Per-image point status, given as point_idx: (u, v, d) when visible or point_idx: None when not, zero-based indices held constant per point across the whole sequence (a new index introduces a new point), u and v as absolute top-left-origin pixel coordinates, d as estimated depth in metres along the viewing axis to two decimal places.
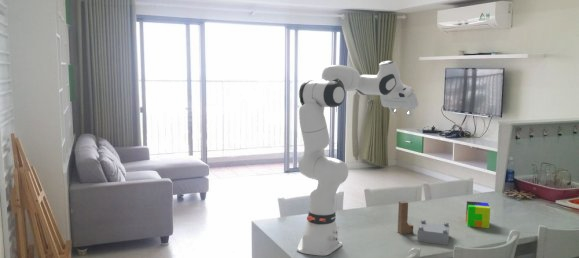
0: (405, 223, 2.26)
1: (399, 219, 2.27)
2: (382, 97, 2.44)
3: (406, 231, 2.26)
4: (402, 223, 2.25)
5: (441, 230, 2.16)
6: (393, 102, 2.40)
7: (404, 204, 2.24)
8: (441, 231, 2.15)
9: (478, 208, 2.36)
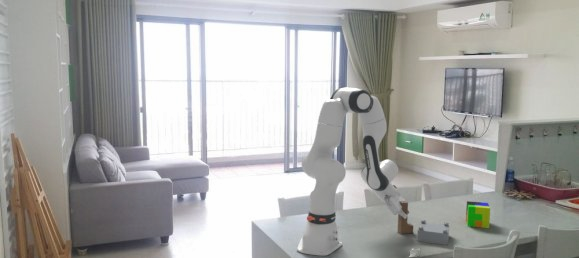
0: (405, 223, 2.26)
1: (399, 219, 2.27)
2: (392, 200, 2.21)
3: (406, 231, 2.26)
4: (402, 223, 2.25)
5: (441, 230, 2.16)
6: (397, 201, 2.26)
7: (404, 204, 2.24)
8: (441, 231, 2.15)
9: (478, 208, 2.36)
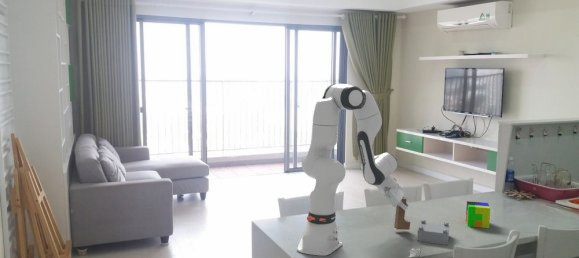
0: (402, 219, 2.27)
1: (396, 214, 2.28)
2: (392, 191, 2.20)
3: (402, 227, 2.27)
4: (399, 219, 2.26)
5: (441, 230, 2.16)
6: (397, 193, 2.25)
7: (402, 200, 2.25)
8: (441, 231, 2.15)
9: (478, 208, 2.36)
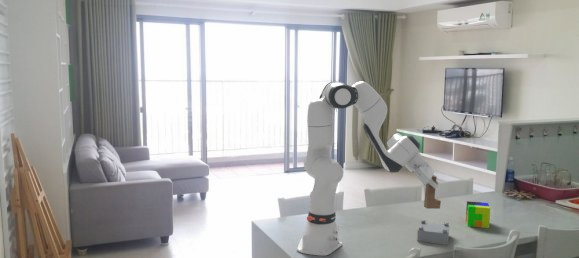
0: (432, 198, 2.18)
1: (426, 193, 2.19)
2: (422, 169, 2.12)
3: (433, 206, 2.19)
4: (429, 197, 2.18)
5: (441, 230, 2.16)
6: (427, 171, 2.17)
7: (432, 178, 2.17)
8: (441, 231, 2.15)
9: (478, 208, 2.36)
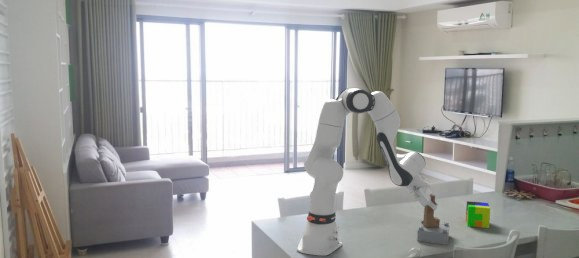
0: (431, 216, 2.19)
1: (425, 212, 2.20)
2: (421, 191, 2.13)
3: (432, 225, 2.20)
4: (428, 216, 2.19)
5: (441, 230, 2.16)
6: (426, 192, 2.18)
7: (431, 197, 2.18)
8: (441, 231, 2.15)
9: (478, 208, 2.36)
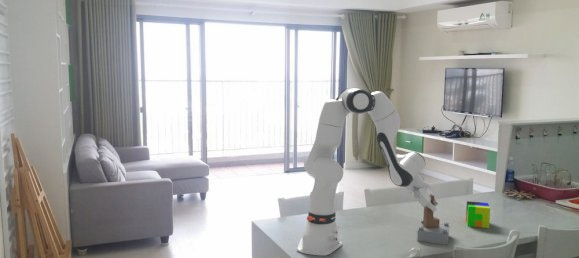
0: (431, 217, 2.19)
1: (425, 212, 2.20)
2: (421, 191, 2.13)
3: (432, 225, 2.20)
4: (428, 217, 2.19)
5: (441, 230, 2.16)
6: (426, 192, 2.18)
7: None
8: (441, 231, 2.15)
9: (478, 208, 2.36)
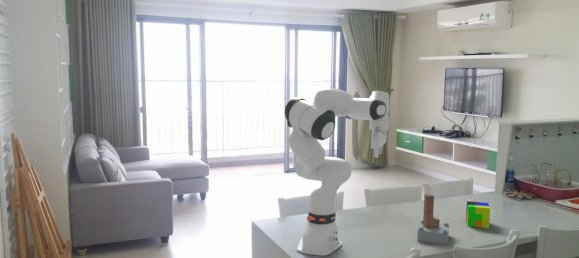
0: (431, 217, 2.19)
1: (424, 212, 2.20)
2: (379, 135, 2.14)
3: (432, 225, 2.20)
4: (428, 217, 2.19)
5: (441, 230, 2.16)
6: (381, 139, 2.19)
7: (430, 197, 2.18)
8: (441, 231, 2.15)
9: (478, 208, 2.36)
